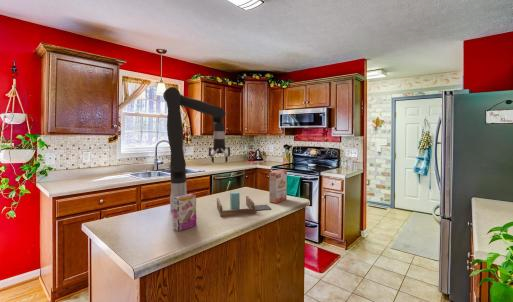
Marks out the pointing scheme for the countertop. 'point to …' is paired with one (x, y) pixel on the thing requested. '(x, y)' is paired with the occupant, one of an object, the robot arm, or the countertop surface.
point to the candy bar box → (184, 212)
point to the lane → (239, 211)
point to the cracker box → (278, 186)
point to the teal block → (234, 200)
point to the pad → (262, 207)
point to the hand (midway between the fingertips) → (219, 162)
